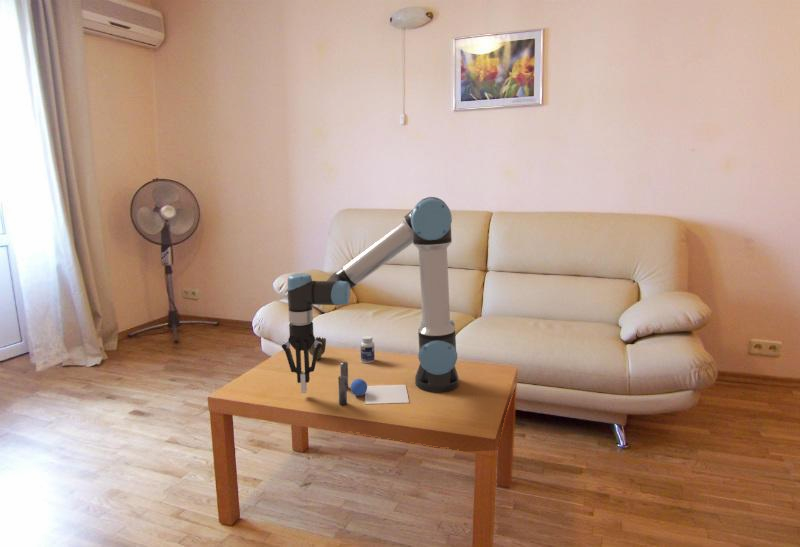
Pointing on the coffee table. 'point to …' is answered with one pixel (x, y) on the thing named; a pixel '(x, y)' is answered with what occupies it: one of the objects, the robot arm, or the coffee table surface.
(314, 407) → the coffee table surface
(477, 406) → the coffee table surface
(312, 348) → the cup
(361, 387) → the ball
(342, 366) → the post
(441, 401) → the coffee table surface
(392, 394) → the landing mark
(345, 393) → the post
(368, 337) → the pill bottle
